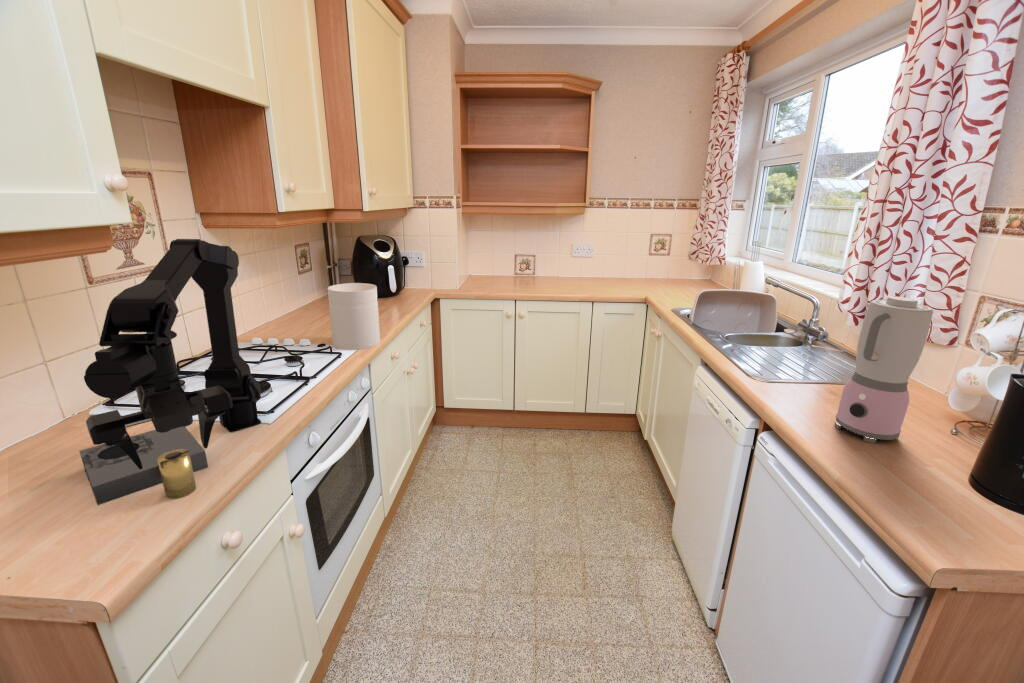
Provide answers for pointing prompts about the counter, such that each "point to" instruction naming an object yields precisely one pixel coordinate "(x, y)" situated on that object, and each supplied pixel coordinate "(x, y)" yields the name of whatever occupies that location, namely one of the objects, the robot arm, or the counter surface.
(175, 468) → the bushing
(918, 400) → the counter surface
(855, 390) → the blender
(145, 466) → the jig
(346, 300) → the canister
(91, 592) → the counter surface
